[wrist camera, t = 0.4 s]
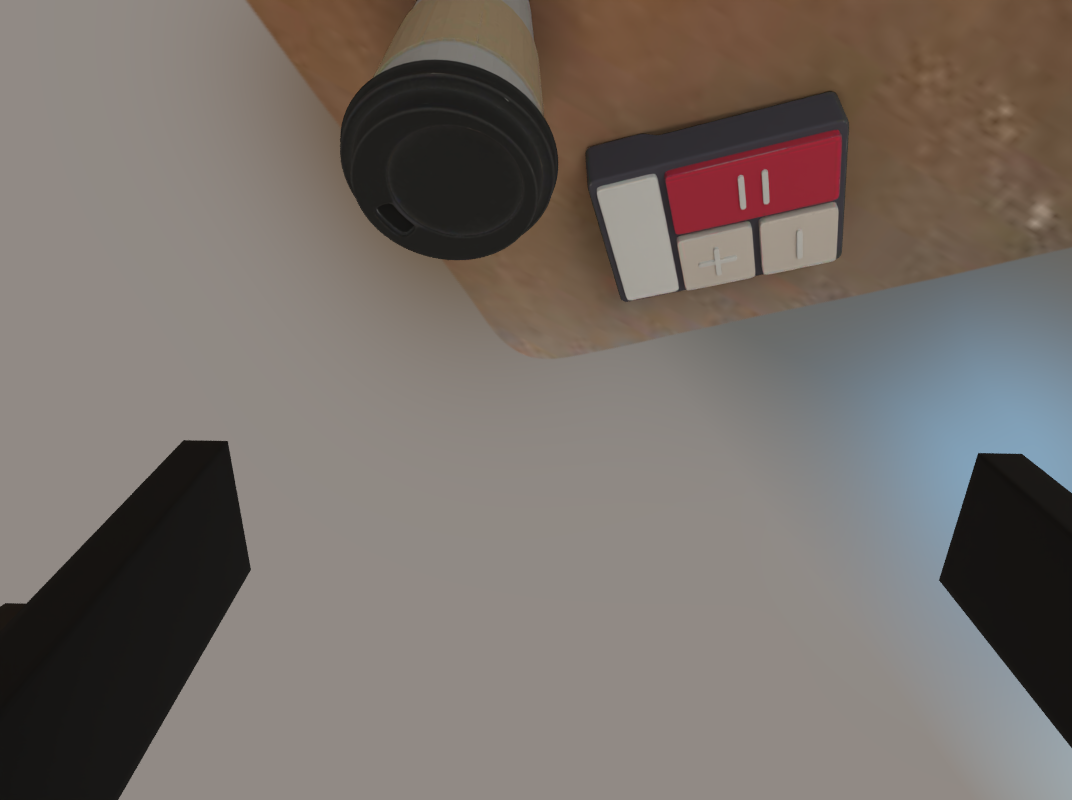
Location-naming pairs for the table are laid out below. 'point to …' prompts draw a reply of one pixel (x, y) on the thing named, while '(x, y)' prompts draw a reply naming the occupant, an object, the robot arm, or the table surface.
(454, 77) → the coffee cup
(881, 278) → the table surface
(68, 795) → the robot arm
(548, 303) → the table surface
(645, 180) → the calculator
